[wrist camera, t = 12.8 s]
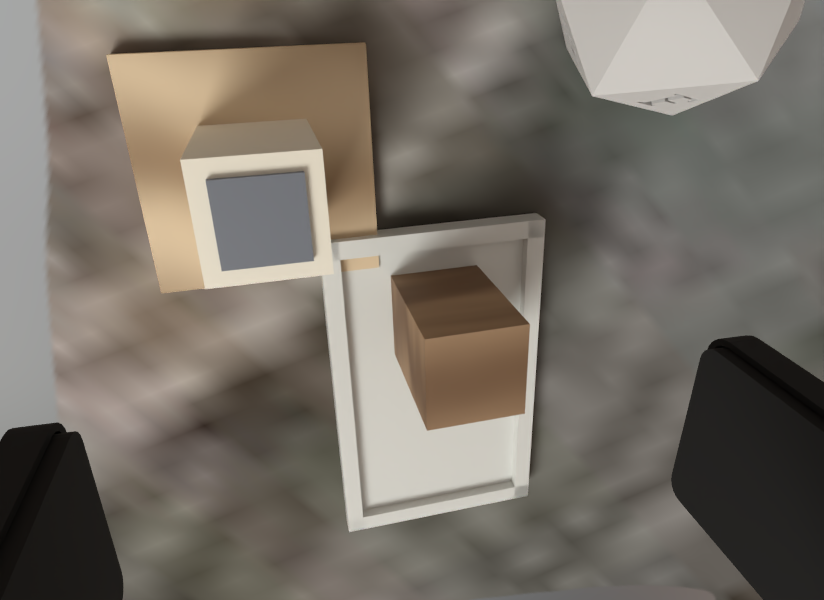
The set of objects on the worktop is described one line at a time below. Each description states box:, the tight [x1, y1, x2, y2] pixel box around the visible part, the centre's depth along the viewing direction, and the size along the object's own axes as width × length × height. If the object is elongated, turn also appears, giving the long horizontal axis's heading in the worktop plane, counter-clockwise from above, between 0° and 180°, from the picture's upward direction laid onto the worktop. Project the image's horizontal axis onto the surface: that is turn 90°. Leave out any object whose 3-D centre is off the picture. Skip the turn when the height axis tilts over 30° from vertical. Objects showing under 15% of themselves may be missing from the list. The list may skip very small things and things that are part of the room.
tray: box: [321, 213, 546, 532], centre depth 30 cm, size 16×10×1 cm, turn 2°
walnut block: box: [391, 265, 530, 431], centre depth 25 cm, size 4×4×6 cm
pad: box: [106, 42, 379, 293], centre depth 24 cm, size 9×9×1 cm
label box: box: [180, 119, 334, 289], centre depth 21 cm, size 4×4×6 cm
